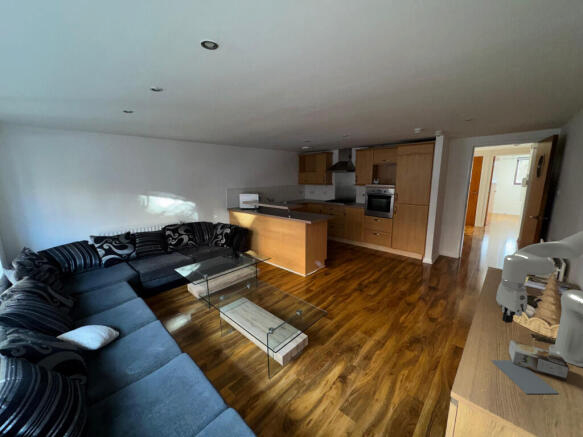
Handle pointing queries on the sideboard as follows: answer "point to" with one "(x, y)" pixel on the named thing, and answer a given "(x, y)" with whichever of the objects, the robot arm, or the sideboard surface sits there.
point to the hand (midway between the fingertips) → (507, 321)
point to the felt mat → (524, 378)
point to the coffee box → (538, 360)
